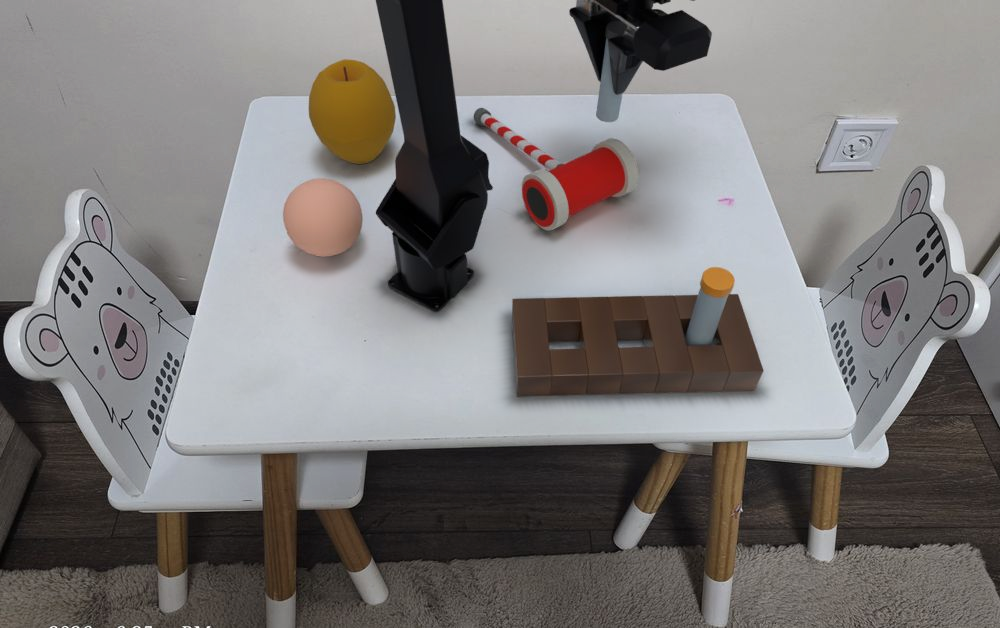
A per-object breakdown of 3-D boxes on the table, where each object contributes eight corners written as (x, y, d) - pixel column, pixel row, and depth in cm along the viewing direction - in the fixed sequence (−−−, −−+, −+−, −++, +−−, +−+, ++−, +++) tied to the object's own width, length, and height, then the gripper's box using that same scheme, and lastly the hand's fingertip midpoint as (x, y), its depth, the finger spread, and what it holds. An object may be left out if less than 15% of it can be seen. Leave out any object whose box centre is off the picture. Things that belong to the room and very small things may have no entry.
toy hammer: (439, 137, 93) (436, 92, 88) (516, 106, 98) (517, 61, 93) (553, 242, 81) (557, 196, 76) (635, 201, 85) (644, 156, 81)
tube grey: (589, 116, 80) (600, 27, 73) (604, 105, 82) (616, 17, 74) (610, 126, 79) (624, 37, 72) (624, 115, 81) (639, 26, 73)
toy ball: (341, 211, 84) (330, 153, 78) (381, 248, 80) (373, 190, 74) (278, 243, 80) (260, 185, 74) (316, 284, 76) (301, 226, 71)
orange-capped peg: (688, 366, 70) (712, 293, 63) (674, 344, 72) (696, 271, 64) (714, 358, 71) (741, 285, 63) (699, 337, 72) (724, 263, 65)
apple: (321, 131, 94) (304, 43, 85) (400, 128, 94) (390, 40, 85) (315, 181, 87) (295, 91, 78) (399, 177, 88) (389, 88, 79)
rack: (516, 396, 68) (517, 376, 65) (511, 319, 74) (512, 298, 71) (755, 390, 68) (764, 370, 66) (730, 314, 74) (738, 293, 72)
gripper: (778, -51, 64) (731, 109, 76) (640, -121, 74) (618, 29, 86) (677, -22, 60) (644, 142, 72) (546, -101, 70) (536, 54, 82)
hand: (611, 87), depth 78 cm, fingers closed on tube grey, 2 cm apart
